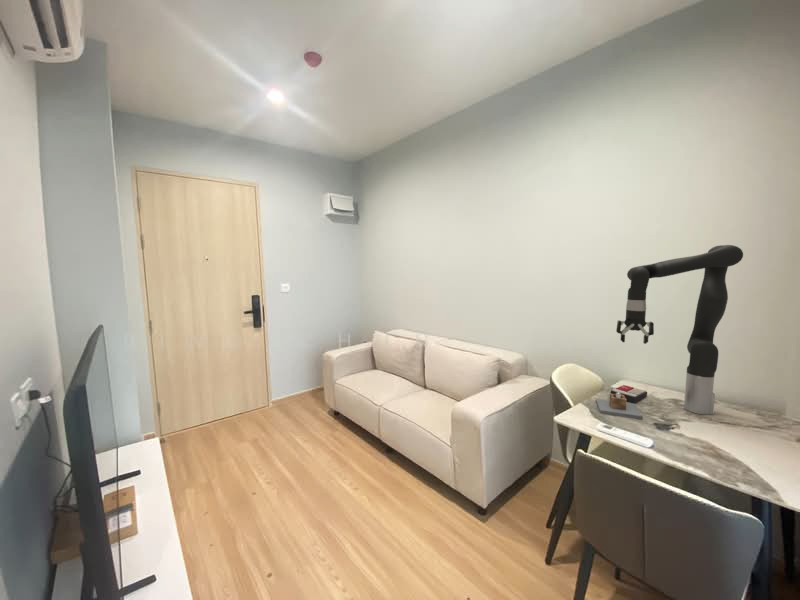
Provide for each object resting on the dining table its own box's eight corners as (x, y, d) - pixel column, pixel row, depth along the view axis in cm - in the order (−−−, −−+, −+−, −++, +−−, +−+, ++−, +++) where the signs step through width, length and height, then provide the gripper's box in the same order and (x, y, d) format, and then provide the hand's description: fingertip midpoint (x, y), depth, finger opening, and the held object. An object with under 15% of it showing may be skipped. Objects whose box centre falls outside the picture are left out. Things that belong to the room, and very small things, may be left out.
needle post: (620, 404, 150) (620, 391, 149) (620, 405, 148) (621, 393, 147) (615, 403, 151) (615, 391, 150) (615, 405, 149) (616, 392, 148)
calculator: (647, 390, 163) (635, 395, 155) (647, 398, 164) (634, 404, 155) (623, 384, 173) (610, 389, 164) (622, 391, 173) (609, 397, 164)
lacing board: (634, 406, 153) (634, 403, 152) (642, 419, 140) (642, 416, 140) (595, 401, 159) (595, 398, 159) (599, 413, 147) (600, 410, 146)
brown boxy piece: (623, 405, 151) (623, 395, 150) (625, 410, 146) (626, 399, 145) (609, 403, 153) (609, 393, 153) (611, 408, 148) (611, 397, 148)
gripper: (652, 308, 152) (649, 342, 154) (616, 307, 158) (614, 339, 160) (657, 310, 145) (654, 345, 147) (619, 309, 151) (617, 343, 153)
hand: (633, 342), depth 154 cm, fingers open, 8 cm apart
